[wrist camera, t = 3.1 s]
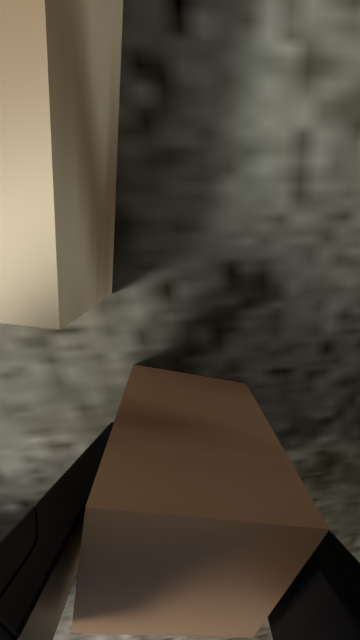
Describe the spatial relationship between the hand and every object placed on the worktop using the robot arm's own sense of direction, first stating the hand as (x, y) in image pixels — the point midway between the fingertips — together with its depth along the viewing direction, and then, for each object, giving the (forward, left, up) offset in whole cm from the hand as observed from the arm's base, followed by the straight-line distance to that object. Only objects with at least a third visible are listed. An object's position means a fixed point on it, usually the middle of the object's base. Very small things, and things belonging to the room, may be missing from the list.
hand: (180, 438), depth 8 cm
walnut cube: (0, 0, -1) cm, 1 cm away
